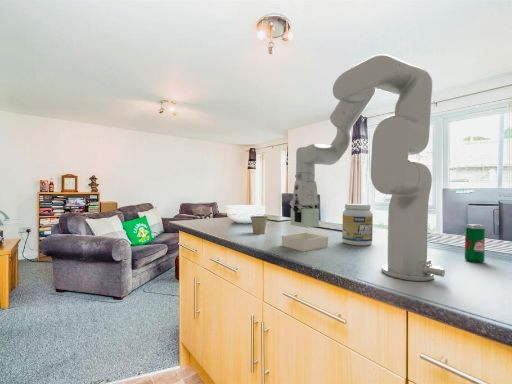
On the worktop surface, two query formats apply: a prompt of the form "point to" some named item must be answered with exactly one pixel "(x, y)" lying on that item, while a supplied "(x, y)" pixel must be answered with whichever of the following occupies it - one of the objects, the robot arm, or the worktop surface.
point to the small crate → (306, 217)
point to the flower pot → (259, 224)
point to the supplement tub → (357, 224)
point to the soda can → (475, 243)
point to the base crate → (304, 241)
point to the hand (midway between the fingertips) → (304, 220)
